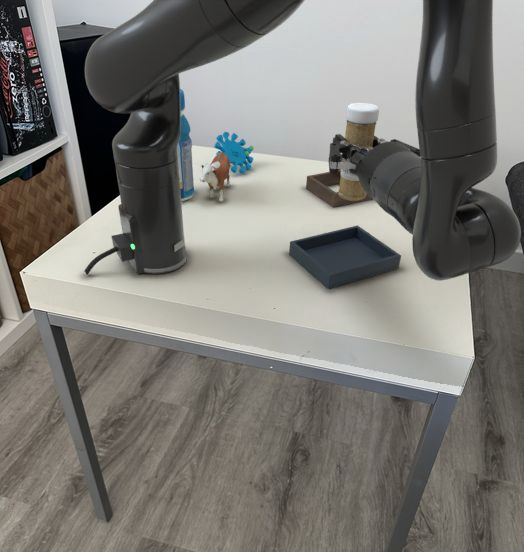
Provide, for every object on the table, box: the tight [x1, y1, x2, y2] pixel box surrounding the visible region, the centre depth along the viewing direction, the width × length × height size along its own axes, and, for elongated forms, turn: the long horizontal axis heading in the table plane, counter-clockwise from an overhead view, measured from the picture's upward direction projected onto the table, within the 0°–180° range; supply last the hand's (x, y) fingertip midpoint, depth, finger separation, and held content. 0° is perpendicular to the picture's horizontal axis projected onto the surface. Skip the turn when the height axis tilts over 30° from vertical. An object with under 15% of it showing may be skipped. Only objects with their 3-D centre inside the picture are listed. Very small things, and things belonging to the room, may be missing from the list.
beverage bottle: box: [177, 88, 195, 202], centre depth 102 cm, size 8×8×20 cm
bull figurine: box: [199, 151, 231, 203], centre depth 106 cm, size 4×13×8 cm, turn 168°
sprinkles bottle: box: [337, 102, 380, 201], centre depth 79 cm, size 5×5×14 cm
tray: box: [288, 225, 402, 290], centre depth 88 cm, size 14×12×2 cm
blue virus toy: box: [213, 131, 255, 174], centre depth 120 cm, size 11×6×10 cm
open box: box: [305, 171, 373, 208], centre depth 110 cm, size 11×11×3 cm
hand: (351, 140), depth 80 cm, fingers closed on sprinkles bottle, 4 cm apart
